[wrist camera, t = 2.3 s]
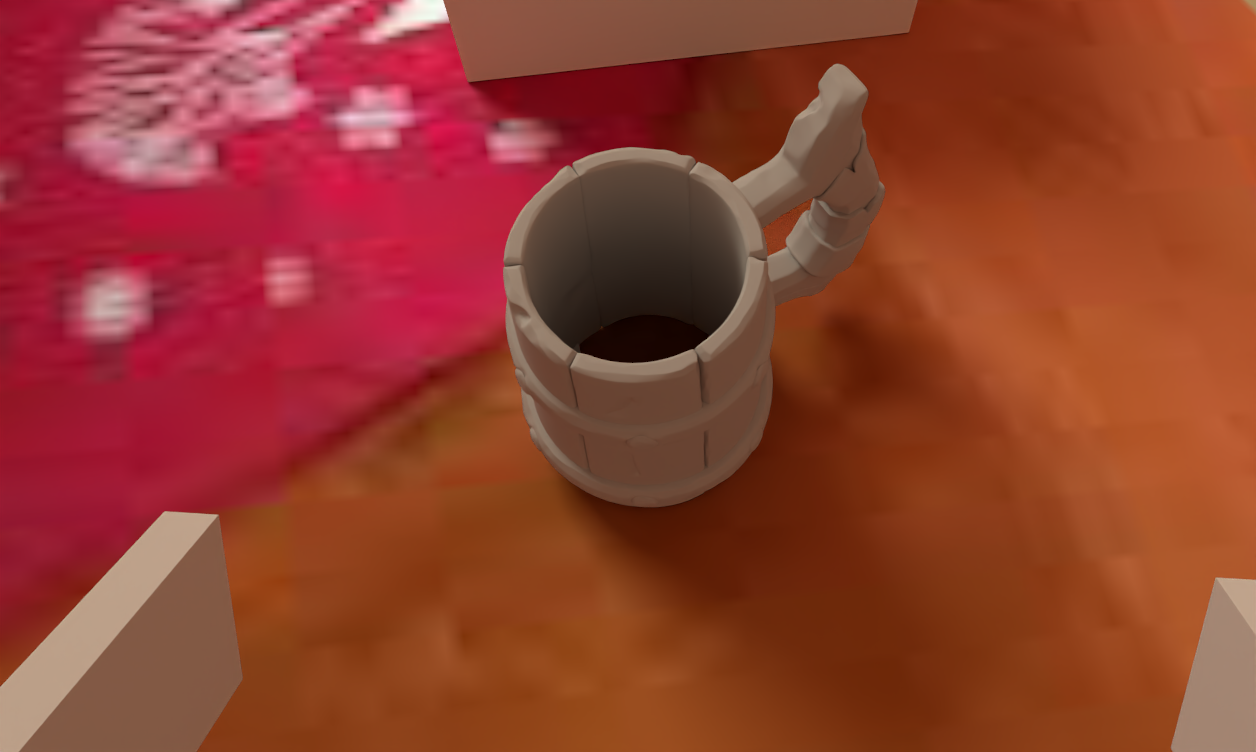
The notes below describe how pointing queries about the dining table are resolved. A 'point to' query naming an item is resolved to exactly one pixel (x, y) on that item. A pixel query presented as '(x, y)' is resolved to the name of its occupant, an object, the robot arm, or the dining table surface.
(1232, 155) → the dining table surface
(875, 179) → the mug
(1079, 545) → the dining table surface
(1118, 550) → the dining table surface
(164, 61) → the dining table surface
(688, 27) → the stand
